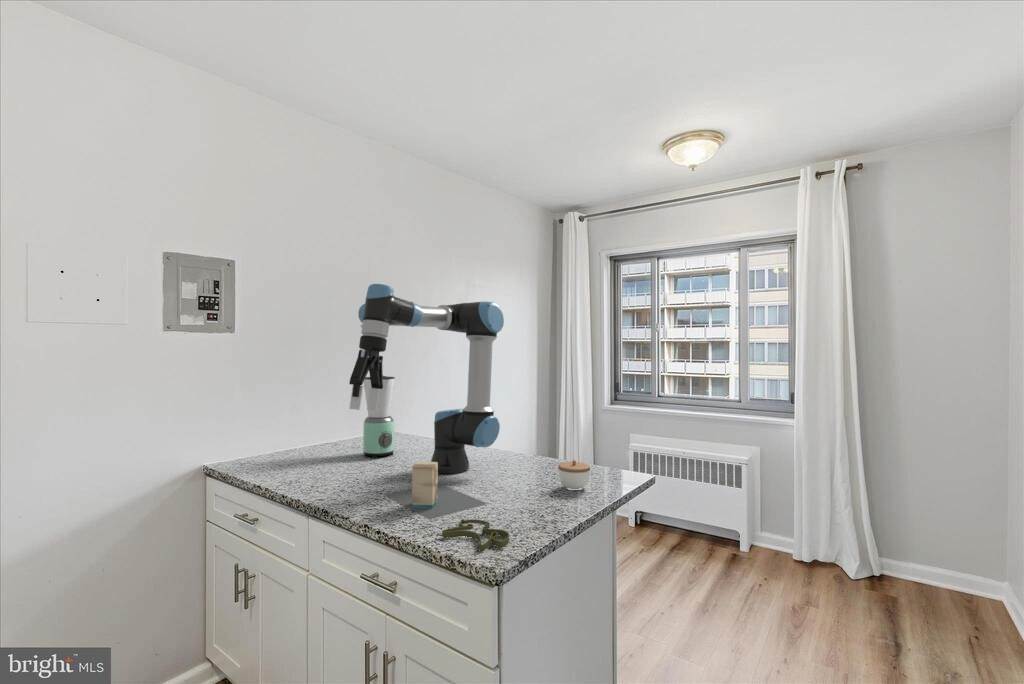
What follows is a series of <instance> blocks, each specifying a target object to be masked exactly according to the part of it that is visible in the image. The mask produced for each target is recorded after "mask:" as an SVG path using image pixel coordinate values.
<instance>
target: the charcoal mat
mask: <svg viewBox="0 0 1024 684" xmlns="http://www.w3.org/2000/svg"><path fill="white" fill-rule="evenodd" d="M384 496H385V497H388V498H389V499H391V500H393V501H395V502H397V503H399V505H400V504H401V505H402V506H404V507H406V508H408V509H409V510H412V511H413V512H415V513H417V514H418V515H421V516H422V517H424V518H427V520H431V519H436V518H440V517H443V516H447V515H451V514H455V513H458V512H462V511H466V510H471V509H474V508H478V507H482V506H486V505H488V503H487V502H484V501H483V500H480V499H478V498H476V497H473V496H471V495H469V494H466V493H463V492H461V491H459V490H458V489H457V490H456V489H455V488H452V487H449V486H447V485H445V484H443V483H440V482H438V502H437V503H436V505H435V506H434V507H433V509H427V508H412V488H409V489H405V490H400V491H395V492H390V493H386V494H385V493H384Z"/></svg>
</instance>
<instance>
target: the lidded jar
mask: <svg viewBox="0 0 1024 684" xmlns="http://www.w3.org/2000/svg"><path fill="white" fill-rule="evenodd" d="M557 467H558V468H557V469H558V478H559V481H560V484H561V485H562V486H563V487H564V488H565V487H566V488H571V489H579V488H583V487H584V488H585V487H586V486H587V485H588V483H589V481H590V477H591V476H590V475H591V465H590V464H589V463H586V462H581V461H576V460H575V459H572V461H564V462H560V463H558V465H557ZM584 488H583V489H584Z"/></svg>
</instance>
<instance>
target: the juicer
mask: <svg viewBox="0 0 1024 684" xmlns="http://www.w3.org/2000/svg"><path fill="white" fill-rule="evenodd" d="M395 379H396V377H395V376H386V375H383V389H379V396H378V404H377V411H375V410H367V415H368V416H367V417H366V418H365V419H364V421H363V442H362V443H363V444H362V445H363V447H362V448H363V449H362V451H363V454H365V455H364V456H368V457H369V456H370V457H372V459H376V458H375V457H377V458H378V457H381V456H389V455H392V456H394V452H395V422H394V418H393V417H392V416H391V414H390V413H391V408H392V401H393V393H394V388H395ZM370 388H372V387H371V380H370V376H366V377H365V380H364V382H363V390H364V394H365V401H366V407H367V406H368V398H369V391H370Z"/></svg>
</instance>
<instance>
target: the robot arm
mask: <svg viewBox="0 0 1024 684" xmlns="http://www.w3.org/2000/svg"><path fill="white" fill-rule="evenodd" d="M367 287H368V288H367V291H366V295H365V302H364V303H363V304H362V305H361V306H359V309H358V316H357V317H358V319H359V321H360V322H361V323H362V324H361V325H360V328H361V331H360V332H361V336H360V338H359V346H358V349H359V350H358V355H357V358H356V362H355V364H354V367H353V369H352V370H353V371H352V372H351V374H350V375H351V376H350V378H349V382H348V383H349V385H352V389H351V395H350V402H349V410H358V411H361V405H362V399H363V392H364V380H365V377H367V375H368V373H369V377H370V380H371V387H372V388H370V391H369V398H368V406H367V405H366V410H367V411H368V410H375V411H377V404H378V396H379V389H383V376H384V374H383V359H384V357H383V355H380V352H381V353H383V352H386V351H387V344H388V343H387V342H388V340H387V338H388V336H389V330H390V329H389V328H390V326H392V327H412V328H414V327H421V328H423V327H425V328H436V329H438V330H439V331H449V332H456V333H464V334H465V338H466V339H467V340H468V341H469V348H468V349H469V350H468V354H469V355H468V373H467V374H468V375H467V377H468V379H467V380H468V381H467V397H466V401H467V403H466V406H465V407H464V408H454V409H446V410H439V411H437V412H436V413H435V415H434V422H433V425H434V430H433V431H434V450H433V453H432V457H431V460H430V462H438V474H440V473H454V474H458V473H457V472H461V473H463V472H462V471H465V470H467V469H468V470H469V469H470V462H469V458H468V456H467V451H466V448H465V446H470V447H476V448H488V447H491V446H492V445H493V444H494V443H495V442H496V440H497V439H498V438H499V437H498V436H499V434H500V428H501V426H500V424H501V423H500V421H499V419H498V417H496V416H495V415H494V413H495V411H494V409H493V408H492V406H491V392H492V391H491V389H492V386H491V385H492V363H493V361H492V360H493V343H494V341H495V340H497V335H498V334H499V332H501V331H502V329H503V327H504V322H505V320H504V313H503V311H502V309H501V308H500V306H499V305H498V304H497V303H496V302H493V301H474V302H462V303H461V302H460V303H455V304H447V305H445V304H440V305H438V306H429V305H428V306H427V305H419V304H417V303H416V302H415V303H414V302H413V301H409V300H405V299H402V298H400V297H396V295H395V293H394V292H395V291H394V288H393V287H392V286H390V285H388V284H385V283H384V284H381V283H372V284H370V285H368V286H367ZM468 470H467V471H468ZM465 472H466V471H465Z"/></svg>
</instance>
